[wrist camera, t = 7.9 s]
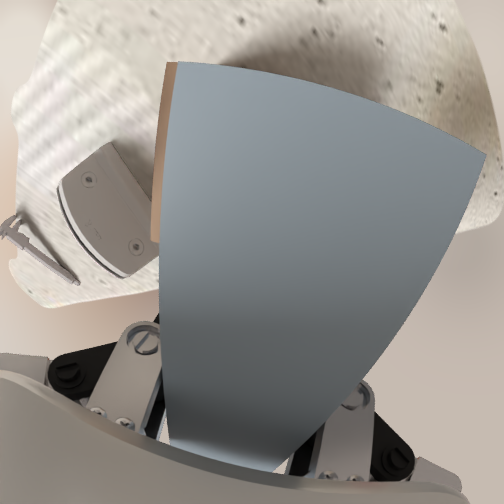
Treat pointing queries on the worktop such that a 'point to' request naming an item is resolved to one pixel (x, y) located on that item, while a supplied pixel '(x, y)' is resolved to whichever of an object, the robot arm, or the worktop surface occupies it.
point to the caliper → (33, 249)
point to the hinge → (108, 213)
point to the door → (290, 251)
